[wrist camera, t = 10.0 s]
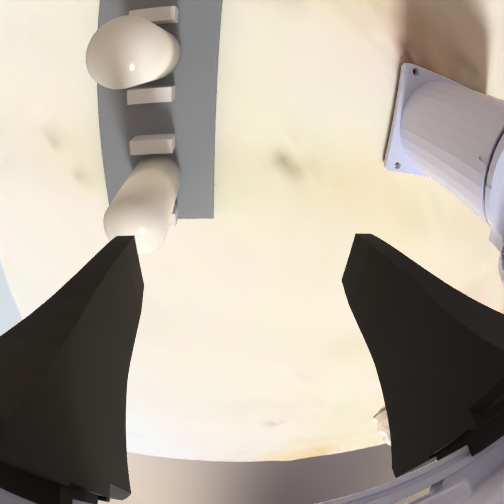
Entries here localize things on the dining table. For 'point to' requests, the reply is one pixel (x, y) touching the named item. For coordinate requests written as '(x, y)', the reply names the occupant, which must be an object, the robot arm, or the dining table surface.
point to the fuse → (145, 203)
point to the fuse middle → (131, 53)
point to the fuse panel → (167, 105)
